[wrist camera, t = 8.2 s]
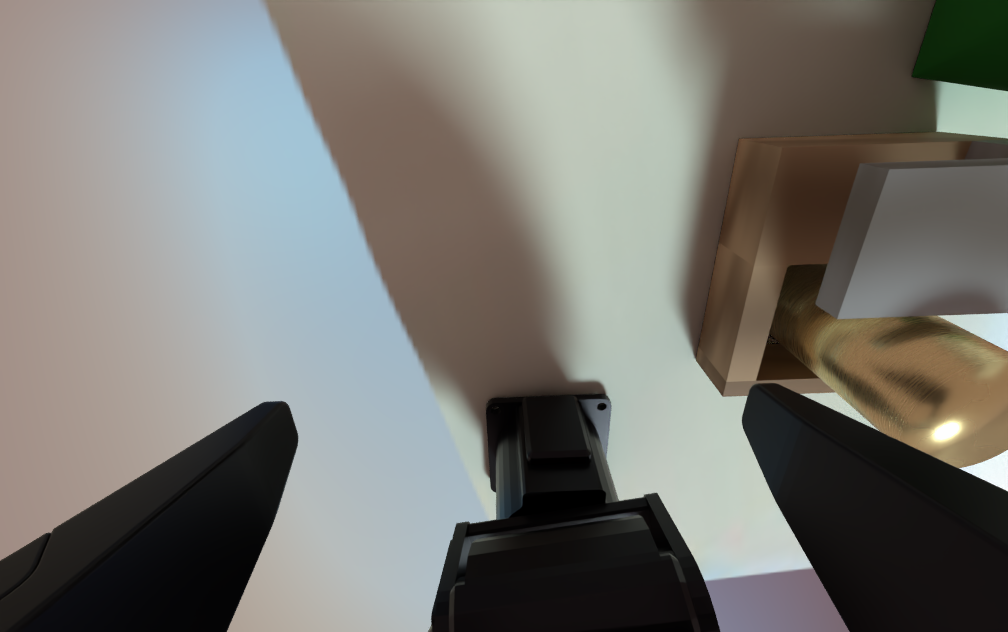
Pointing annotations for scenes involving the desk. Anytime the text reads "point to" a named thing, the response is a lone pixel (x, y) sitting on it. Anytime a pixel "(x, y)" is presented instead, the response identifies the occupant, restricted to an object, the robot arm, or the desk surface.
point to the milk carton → (966, 44)
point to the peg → (902, 372)
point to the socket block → (853, 240)
